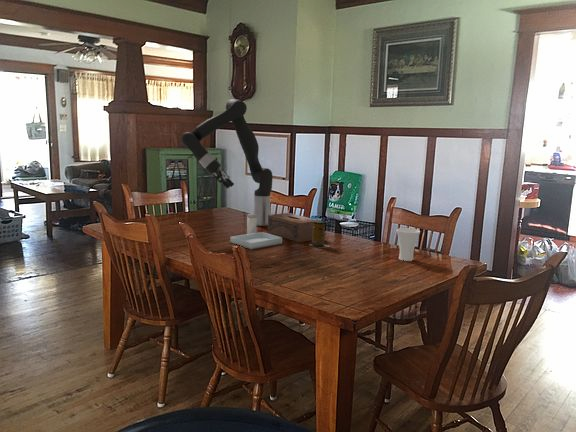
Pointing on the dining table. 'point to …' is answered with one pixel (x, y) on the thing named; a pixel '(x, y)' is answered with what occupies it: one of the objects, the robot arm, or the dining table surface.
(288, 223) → the tissue box cover
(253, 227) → the cylinder
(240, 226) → the dining table surface
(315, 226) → the condiment
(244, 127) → the robot arm
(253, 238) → the tray
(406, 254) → the cup
